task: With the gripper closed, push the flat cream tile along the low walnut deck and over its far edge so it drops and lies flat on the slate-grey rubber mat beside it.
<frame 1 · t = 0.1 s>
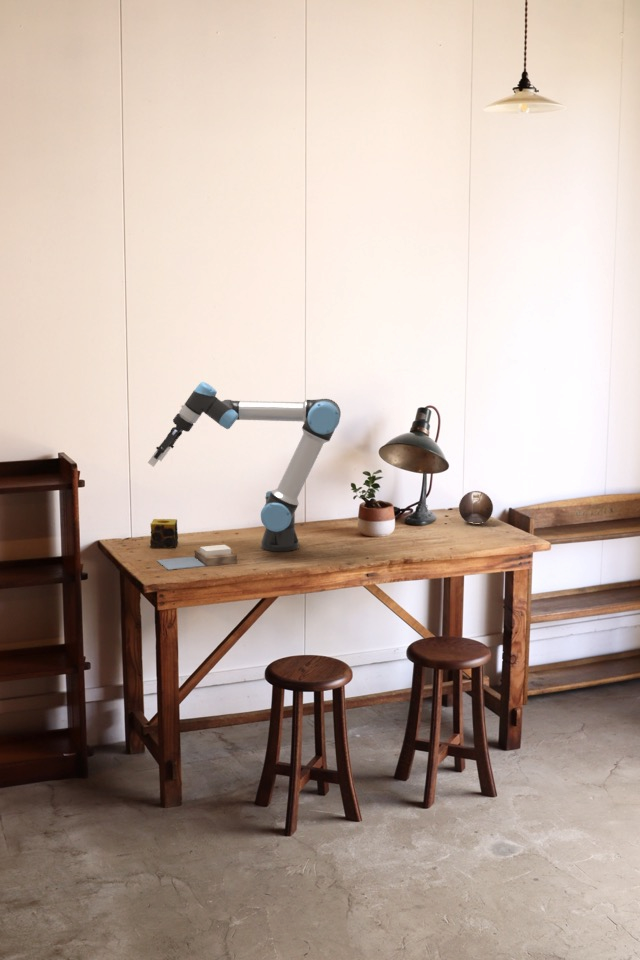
hand: (154, 461, 410), 36 cm above the table, tool tilted 35°, fingers open, 13 cm apart
candle: (164, 546, 427), on the table
mat: (180, 563, 399), on the table
deck: (215, 560, 405), on the table
bronze metallic ball: (475, 524, 475), on the table
tile: (215, 552, 404), point 3 cm above the table, touching deck
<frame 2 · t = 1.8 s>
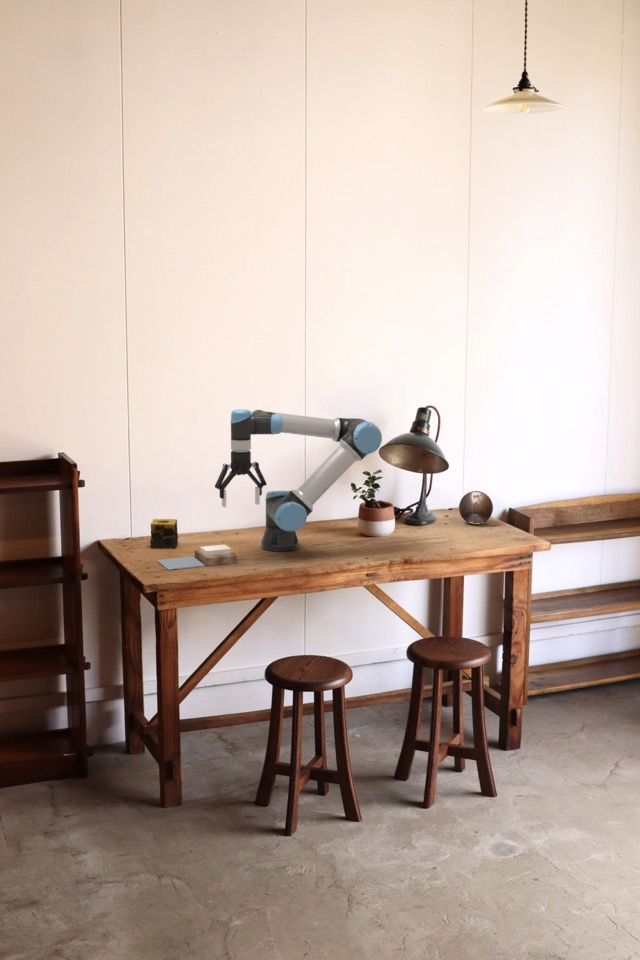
hand: (240, 505, 406), 21 cm above the table, tool pointing down, fingers open, 13 cm apart
nothing on the table moved.
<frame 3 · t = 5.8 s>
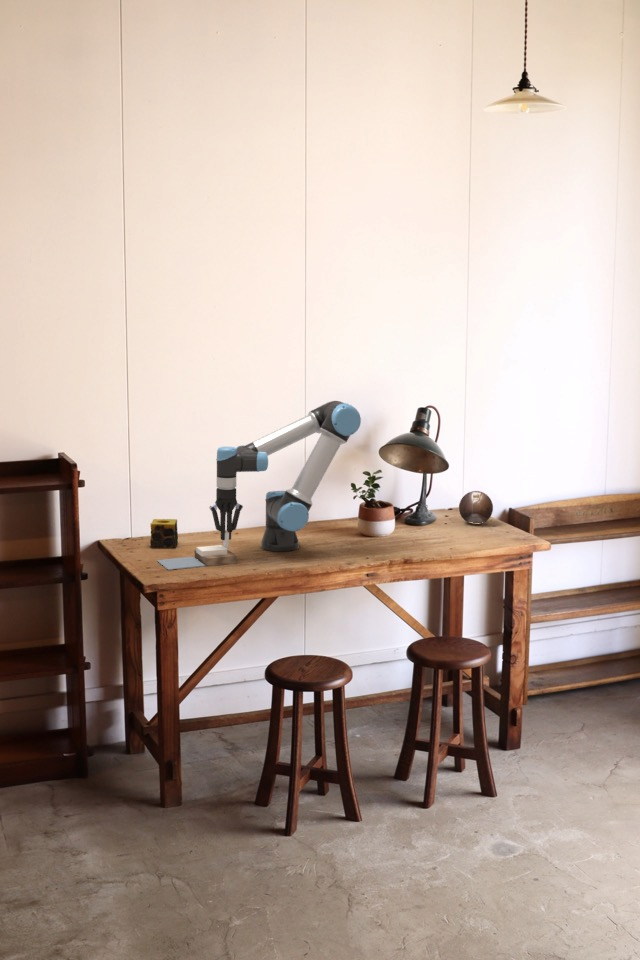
hand: (225, 548, 406), 4 cm above the table, tool pointing down, fingers closed
tile: (211, 553, 404), point 3 cm above the table
everything else where it was.
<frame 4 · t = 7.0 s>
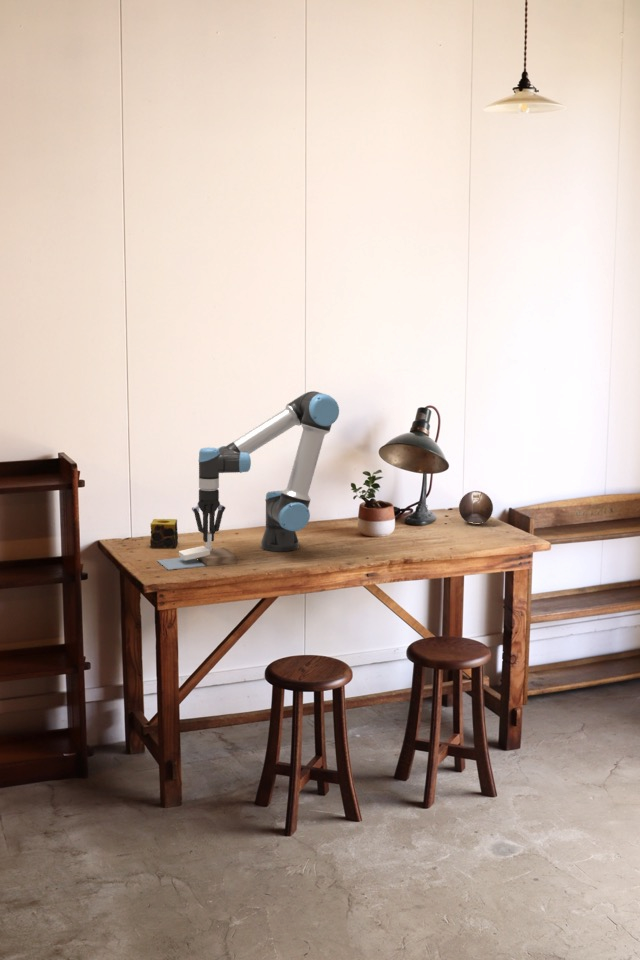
hand: (208, 549, 403), 4 cm above the table, tool pointing down, fingers closed
tile: (194, 555, 401), point 3 cm above the table, tilted 7°, touching gripper
everything else where it was.
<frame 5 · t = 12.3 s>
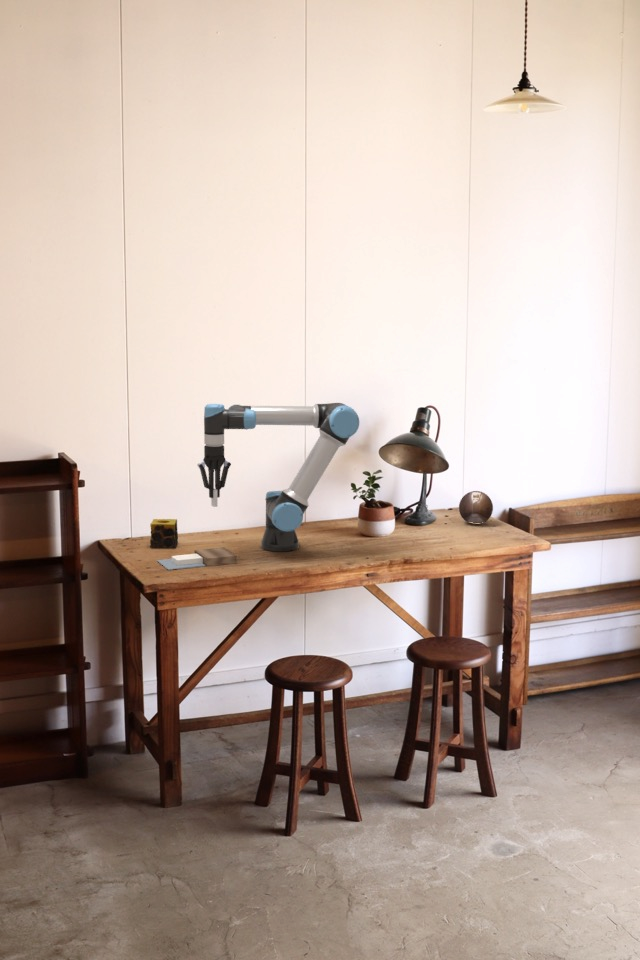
hand: (214, 505, 405), 20 cm above the table, tool pointing down, fingers closed
tile: (187, 562, 400), resting on mat
everything else where it was.
at the end: tile inside the target area (2.6 cm from its centre), point 0.5 cm above the table; tile tilted 0° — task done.
